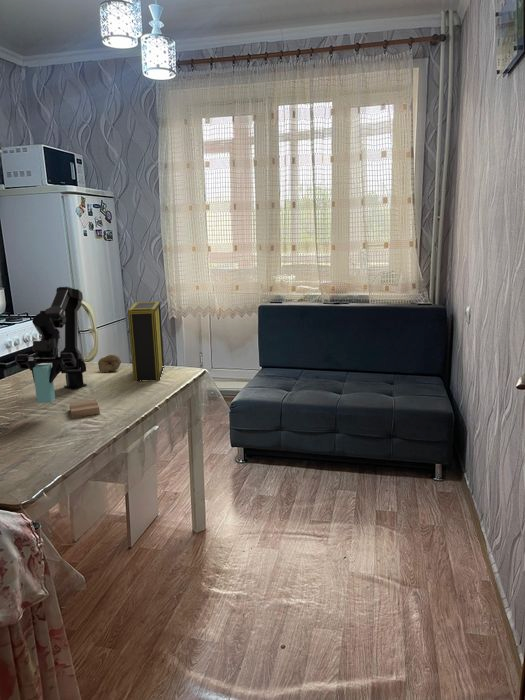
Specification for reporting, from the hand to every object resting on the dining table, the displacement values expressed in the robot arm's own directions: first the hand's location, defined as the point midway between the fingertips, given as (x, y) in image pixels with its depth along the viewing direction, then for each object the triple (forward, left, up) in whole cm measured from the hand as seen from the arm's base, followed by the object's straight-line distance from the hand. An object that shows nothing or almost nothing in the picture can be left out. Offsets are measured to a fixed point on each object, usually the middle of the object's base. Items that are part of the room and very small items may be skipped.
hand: (42, 382), depth 175 cm
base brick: (-7, -10, -12) cm, 17 cm away
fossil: (+25, -53, -13) cm, 60 cm away
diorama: (+5, -56, -13) cm, 58 cm away
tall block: (+1, -1, -7) cm, 7 cm away
